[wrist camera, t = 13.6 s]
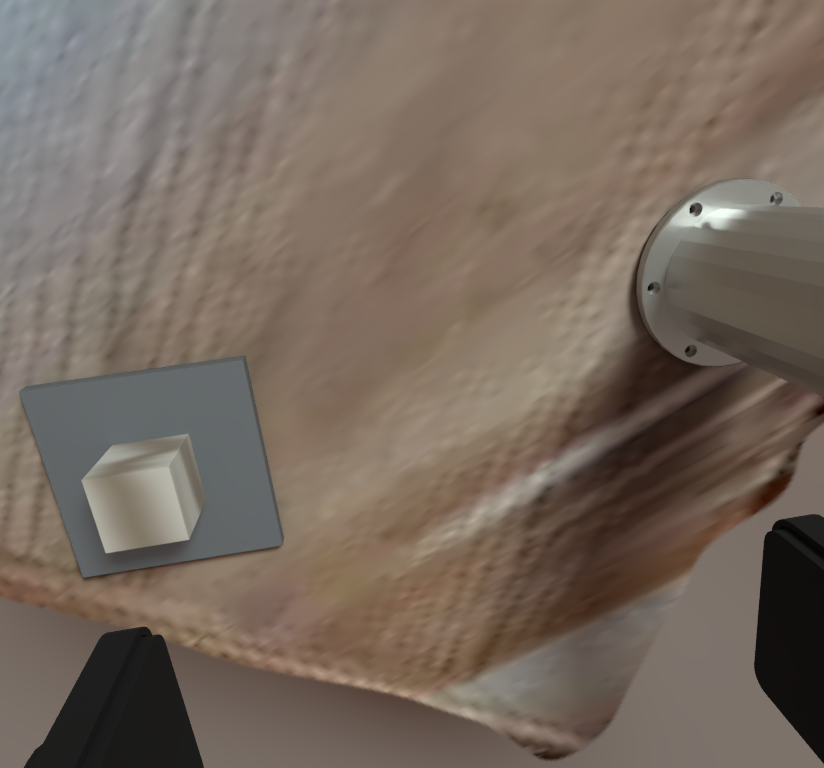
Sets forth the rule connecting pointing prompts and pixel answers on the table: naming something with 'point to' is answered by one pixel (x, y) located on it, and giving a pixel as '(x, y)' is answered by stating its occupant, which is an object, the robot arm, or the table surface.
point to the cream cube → (145, 493)
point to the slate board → (150, 419)
